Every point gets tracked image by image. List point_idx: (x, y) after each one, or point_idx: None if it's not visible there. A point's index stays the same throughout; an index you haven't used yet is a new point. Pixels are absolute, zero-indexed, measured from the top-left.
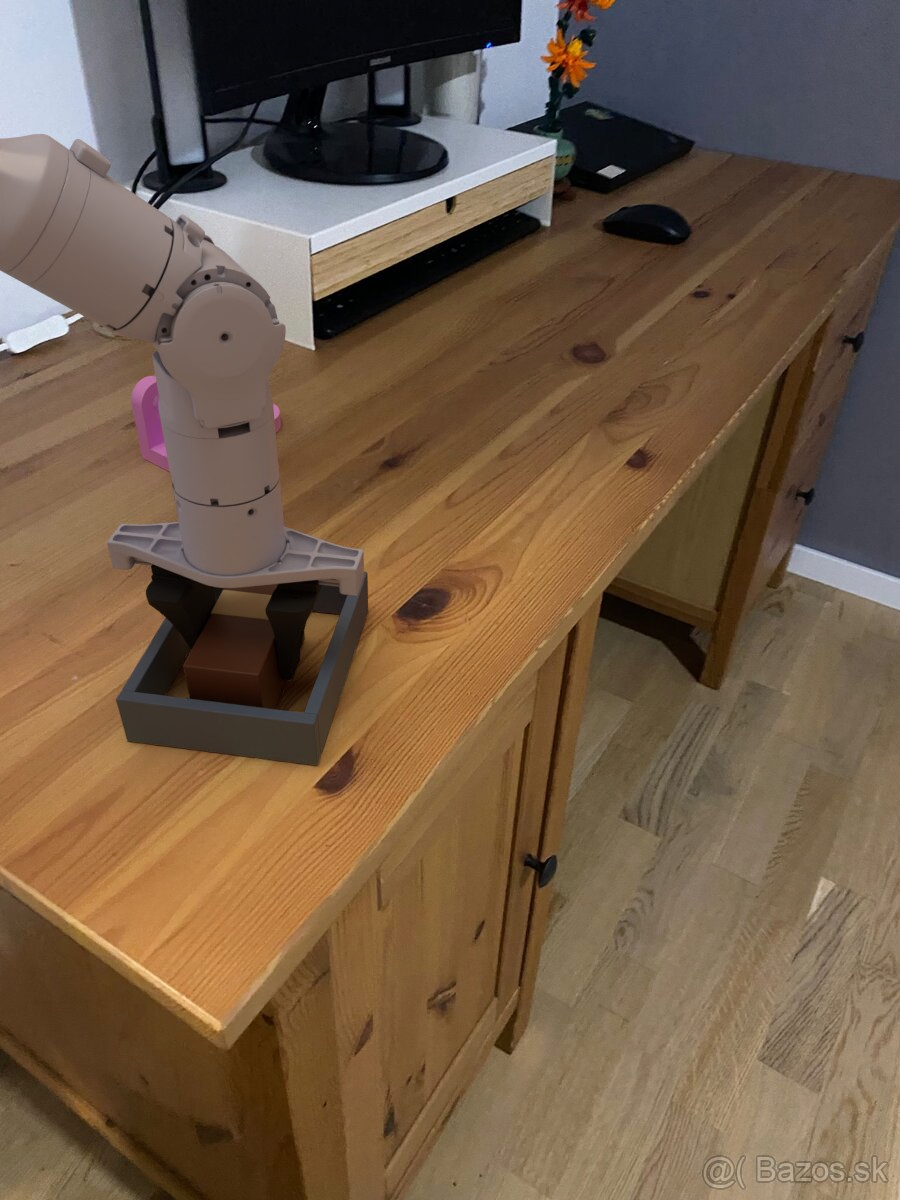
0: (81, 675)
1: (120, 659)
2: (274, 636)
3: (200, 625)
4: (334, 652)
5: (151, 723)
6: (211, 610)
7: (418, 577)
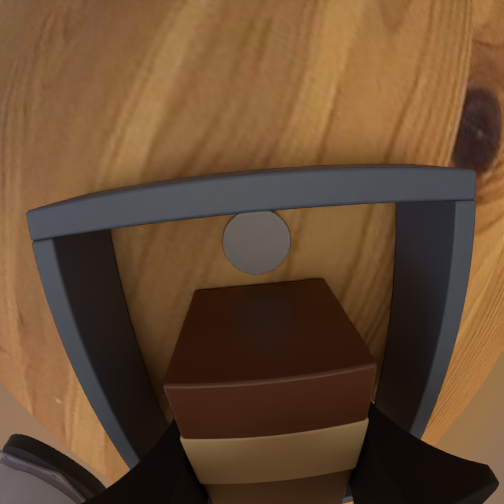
0: (59, 397)
1: (72, 373)
2: (346, 488)
3: (203, 501)
4: (425, 418)
5: None
6: (191, 468)
7: (453, 58)
